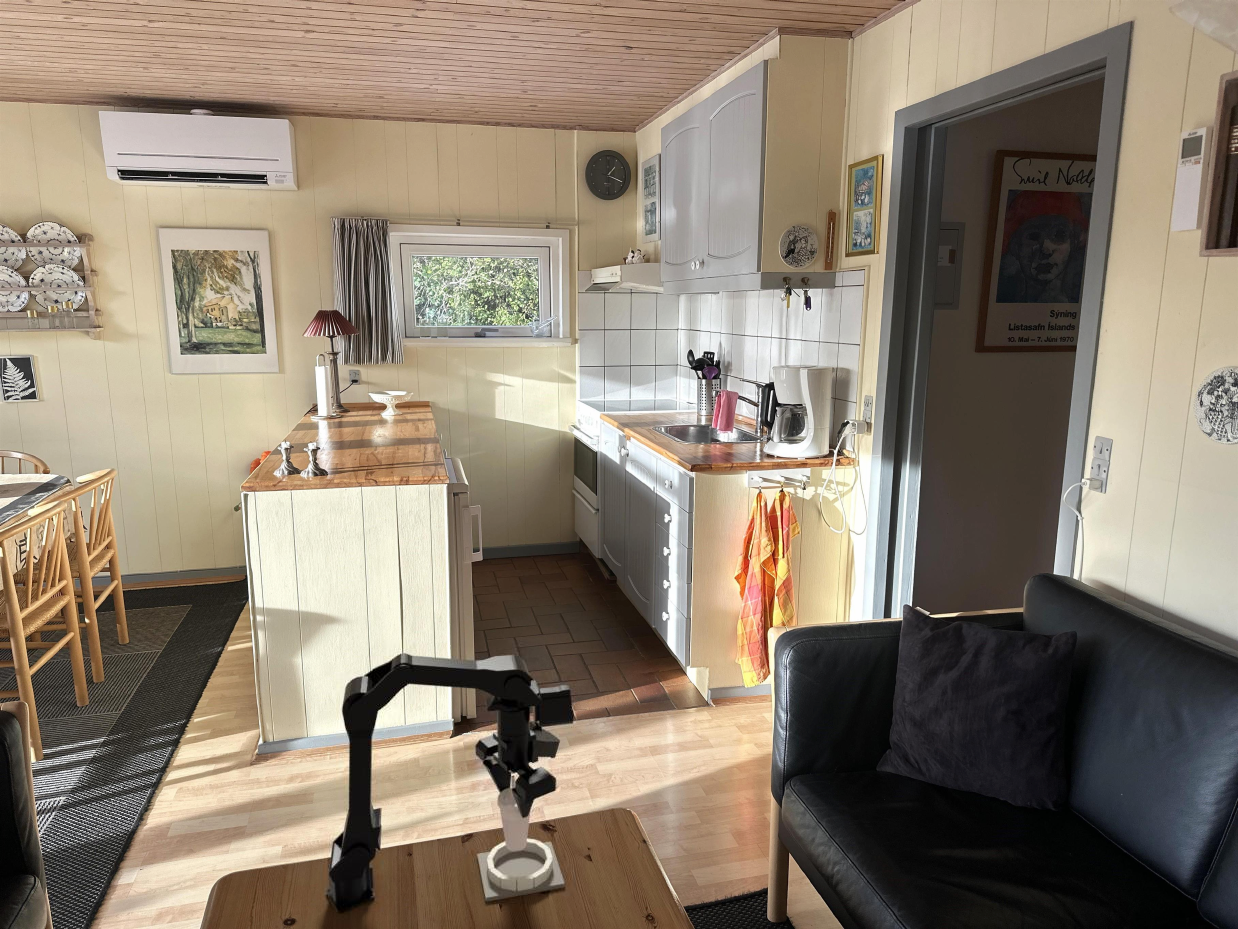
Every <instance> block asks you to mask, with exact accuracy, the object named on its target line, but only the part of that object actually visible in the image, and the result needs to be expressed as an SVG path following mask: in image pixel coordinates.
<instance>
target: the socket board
mask: <svg viewBox="0 0 1238 929" xmlns="http://www.w3.org/2000/svg"><path fill="white" fill-rule="evenodd" d="M476 856H477V857H476V858H477V862H478V868H479V873H480V874H479V875H480V878H481V879H480V880H481V883H482V890H483V895H484V899H485V900H484V901H485V902H492V901H497V900H498V901H499V900H503V899H504V900H505V899H508V898H513V897H520V896H524V895H530V894H535V893H540V892H541V893H542V892H547V891H552V890H558V889H563V888H565V885H566V884H565V880H564V877H563V875H562V871H561V868H560V865H559V861H558V859H557V856H556V852H555V849H554V846H553V844H552V841H545V842H542V841H541V840H538V839H533V838H528V837H527V843H526V847H525V848H524V849H522V850H520V851H511V850H509V849H507V847H506V843H505V840H504V841H503V842H500V843H499V844H496V846H493V848H492V849H491V851H487V852H481V853H477V855H476Z"/></svg>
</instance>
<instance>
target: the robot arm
mask: <svg viewBox="0 0 1238 929" xmlns="http://www.w3.org/2000/svg"><path fill="white" fill-rule="evenodd" d="M408 685H418V686H430V687H446V688H458V689H472V690H473V689H474V690H478V691H482V692H484V693H486V694H488V695H489V696H488V697H486V699H485V707H486V710H487V711H488V712H496V718H497V719H496V724H497V725H496V727H497V730H496V731H494V732H492V734H491V735H490V736H486V737H483V738H480V739H479V740H478V741H477V743H476V744H475V756H476V757H478V759H479V760H481V761H482V765H483V766H484V767H485V769H486V771H487V773H488V774H489V776H490V778H491V780H492V781H493V783H494V785H495V788H496V789H497V790H498V793H499V794H500V793H501V792H502V791H503V790H505V789H508V788H511V787H512V780H511V776H512V774H517V775H518V777H517V778H516V780H515V788H512V789H511V791H512V793H513V796H514V798H515V801H516V804H517V806H518V809H519V812H520V814H521V816H522V818H525V817H527V816H528V815H529V812H530V813H531V810H532V807H533V804H534V801H535V800H536V799H538V798H540V797H543V796H547V795H548V794H551V793H553V792H555V791H557V790H556V789H557V777H555V776H554V775H553V774H552V773H550V772H549V771H548V770H547V769H546V768H544V767H543V766H539V767H537V768H535V769H534V768H533V767H532V766H530V763H532V764H535V763H538V762H539V758H550V759H555V758H556V756H557V753H558V750H559V747H560V742H561V740H560V738H558V737H557V736H555V735H554V734H553V733H552V732H550V731H548V730H546V729H544V728H545V727H554V726H563V725H564V726H566V725H572V724H573V723H574V719H575V717H574V715H575V714H574V713H575V712H574V708H573V703H572V696H571V694H572V691H571V688H570V686H569V684H562V685H558V686H553V687H551V686H550V687H543V688H539V685H538V683H537V681H536V680H535V678H533V677H532V675H531V674H530V672H529V669H528V667H527V663H526V662H525V661H524V660H523V658H522V657H521V656H519V655H516V654H507V655H505V654H504V655H497V656H496V655H495V656H492V657H489V658H485V659H481V660H471V659H459V658H448V657H447V658H445V657H435V656H434V657H432V656H420V655H411V654H409V653H400V654H397V655H396V656H394V657H393V658H392V659H390V660H389V661H387V662H385V663H383V664H380V665H378V666H375V667H374V668H372V669H371V670H370V671H368V672H367V673H365V674H364V675H362V676H357V677H355V678H352V679H351V680H349V682H347V684H346V685H345V688H344V694H343V701H342V707H341V714H342V718H343V724H344V729H345V731H346V735H347V738H348V743H349V746H348V747H349V748H348V749H349V750H348V762H349V763H348V809H347V813H346V819H345V822H344V826H343V831H342V832H341V833H340V834H339V835H337V837H336V838H335V839H334V840H333V841H332V845H331V854H330V861H329V866H327V869H328V886H329V888H328V889H326V895H327V896H328V898H329V900H330V902H331V903H332V904H333V907H334V908H335V910H336V911H337V913H338V914H342V913H345V912H347V911H349V910H351V909H354V908H355V907H358V906H360V905H362V904H364V903H368V902H369V901H372V900H374V899H375V897H376V894H375V892H374V891H373V889H374V888H375V885H374V884H375V883H374V882H375V881H374V868H373V866H372V864H370V863H371V862H372V861H373V860H375V858H376V854H377V851H378V850H379V851H380V850H381V844H382V843H381V842H382V827H383V826H382V809H383V808H382V807H376V808H374V806H373V803H372V779H373V778H372V774H373V773H372V772H373V768H372V766H373V764H372V763H373V761H372V760H373V734H374V731H375V729H376V728H375V727H376V723H377V719H378V715H379V714H378V713H379V712H380V710H382V709H384V708H385V707H386V706H387V705H388V704H390V702H391V701H392V700H393V699H394V698H395V697H396V696H397V694H398V693H399V692H400V691H401V690H403V689H404V688H405V687H407V686H408ZM531 708H532V710H531ZM530 711H532V717H533V720H532V721H531V712H530Z"/></svg>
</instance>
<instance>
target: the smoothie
mask: <svg viewBox="0 0 1238 929" xmlns="http://www.w3.org/2000/svg"><path fill="white" fill-rule="evenodd" d="M515 781H516V780H515V775H511V786H510V788H508V789H505V790H503V791H502V792H501V793H500V792H499V794H498V795H497V803H496V805H497V806H498V808H499V811H500V817H501V823H502V830H503V836H504V841H505V843H506V847H507V849H509V850H511V851H520V850H522V849H524V848H525V847H526V843H527V838H528V833H529V825H530V818H531V817H530V816H531V811H530V812H529V815H528V816H527V817H525V818H522V816H521V814H520V812H519V809H518V806H517V804H516V801H515V798H514V796H513V793H512V791H511V789H512V788H515Z"/></svg>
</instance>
